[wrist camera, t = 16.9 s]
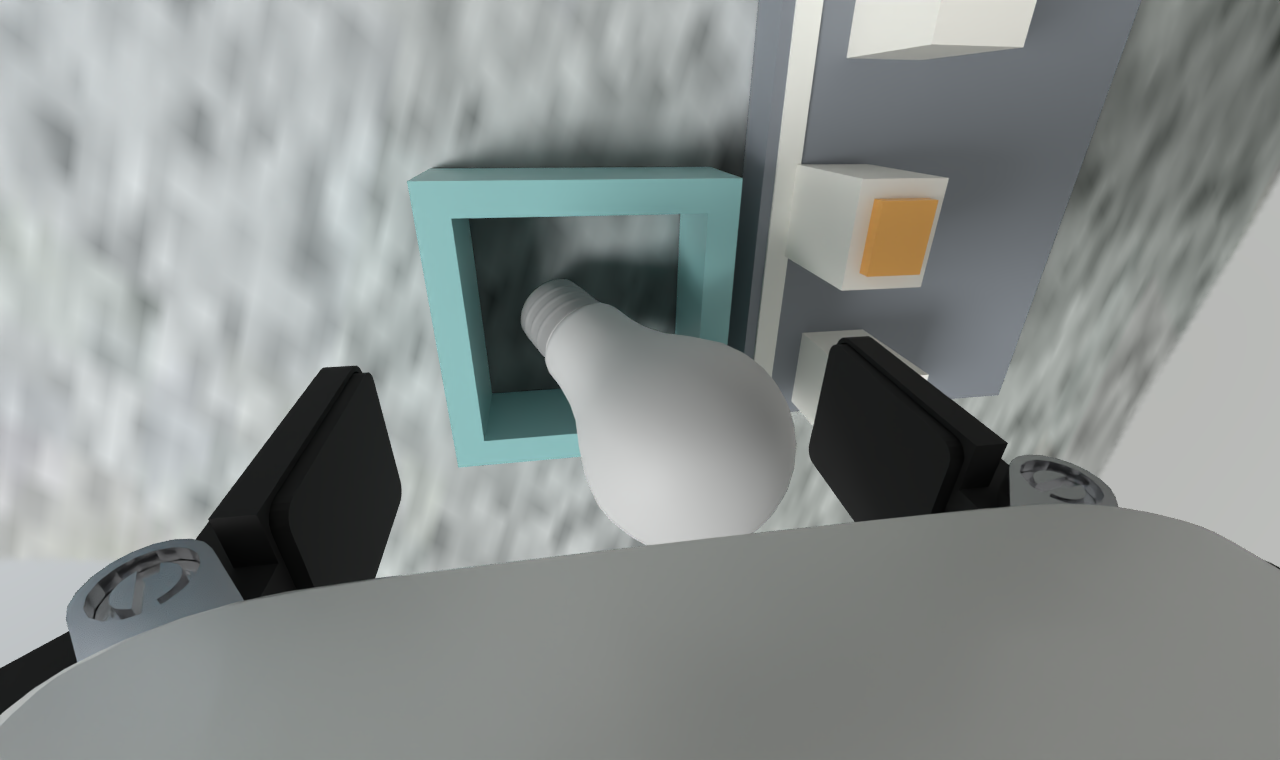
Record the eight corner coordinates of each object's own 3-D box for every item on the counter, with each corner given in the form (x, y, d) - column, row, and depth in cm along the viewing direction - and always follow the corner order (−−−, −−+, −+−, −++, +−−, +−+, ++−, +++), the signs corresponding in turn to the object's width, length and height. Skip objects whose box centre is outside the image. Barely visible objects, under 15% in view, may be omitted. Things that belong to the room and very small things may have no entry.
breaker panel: (765, -74, 16) (876, -164, 11) (1104, -51, 18) (1341, -118, 13) (722, 392, 23) (776, 475, 18) (966, 374, 25) (1079, 445, 20)
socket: (430, 168, 17) (406, 181, 14) (709, 166, 19) (742, 178, 16) (469, 416, 22) (458, 467, 19) (694, 399, 23) (717, 444, 20)
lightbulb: (565, 181, 17) (851, 396, 11) (627, 286, 22) (842, 467, 17) (421, 313, 16) (647, 601, 11) (519, 388, 22) (704, 607, 16)
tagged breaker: (796, 164, 17) (871, 180, 13) (867, 164, 18) (959, 179, 14) (784, 256, 19) (848, 294, 15) (850, 253, 19) (929, 291, 15)
